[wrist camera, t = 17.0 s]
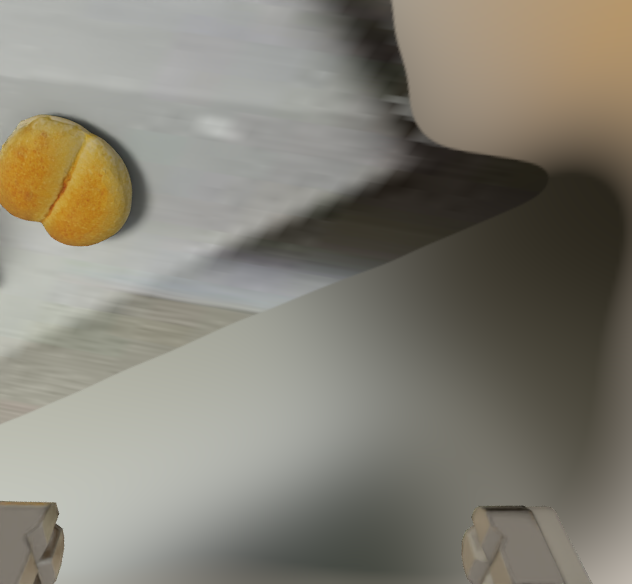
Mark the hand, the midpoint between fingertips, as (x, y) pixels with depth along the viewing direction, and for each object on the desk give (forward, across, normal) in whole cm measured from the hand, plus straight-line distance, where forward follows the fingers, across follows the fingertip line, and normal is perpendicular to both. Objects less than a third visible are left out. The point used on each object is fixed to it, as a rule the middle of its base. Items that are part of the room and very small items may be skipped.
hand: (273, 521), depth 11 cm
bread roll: (+31, +14, +6) cm, 35 cm away
